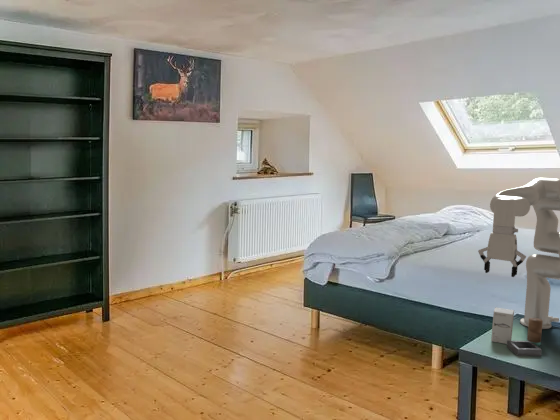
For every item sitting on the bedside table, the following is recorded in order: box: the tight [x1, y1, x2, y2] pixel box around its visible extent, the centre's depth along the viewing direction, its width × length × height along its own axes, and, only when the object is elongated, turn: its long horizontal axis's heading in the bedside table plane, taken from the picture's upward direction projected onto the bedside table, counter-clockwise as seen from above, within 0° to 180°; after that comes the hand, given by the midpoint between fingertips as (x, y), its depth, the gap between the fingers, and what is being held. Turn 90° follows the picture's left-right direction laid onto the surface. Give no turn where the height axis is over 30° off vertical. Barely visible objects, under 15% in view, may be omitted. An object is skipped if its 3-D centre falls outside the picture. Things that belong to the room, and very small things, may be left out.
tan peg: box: [526, 318, 543, 347], centre depth 212 cm, size 5×5×10 cm
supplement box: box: [490, 306, 515, 345], centre depth 215 cm, size 7×7×13 cm
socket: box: [506, 340, 542, 357], centre depth 204 cm, size 9×9×2 cm
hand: (500, 274), depth 204 cm, fingers open, 9 cm apart
